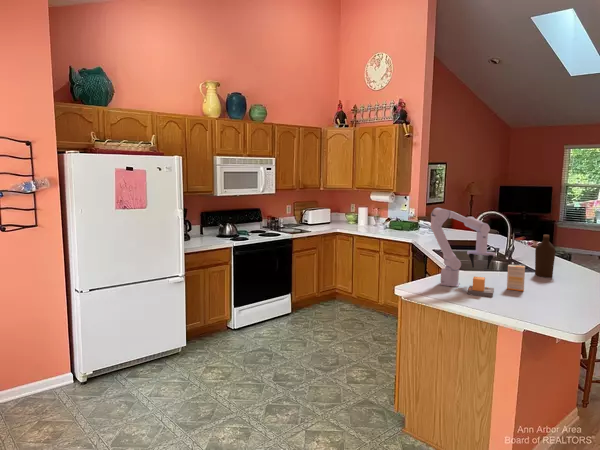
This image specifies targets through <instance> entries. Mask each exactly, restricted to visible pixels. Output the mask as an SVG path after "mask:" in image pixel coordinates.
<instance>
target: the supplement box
mask: <svg viewBox="0 0 600 450" xmlns="http://www.w3.org/2000/svg"><path fill="white" fill-rule="evenodd" d="M525 275H526V265H520V264H519V265H517V264H508V265H507V276H506V277H507V279H506V290H508V291H519V292H524V291H525V279H526V277H525Z"/></svg>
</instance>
